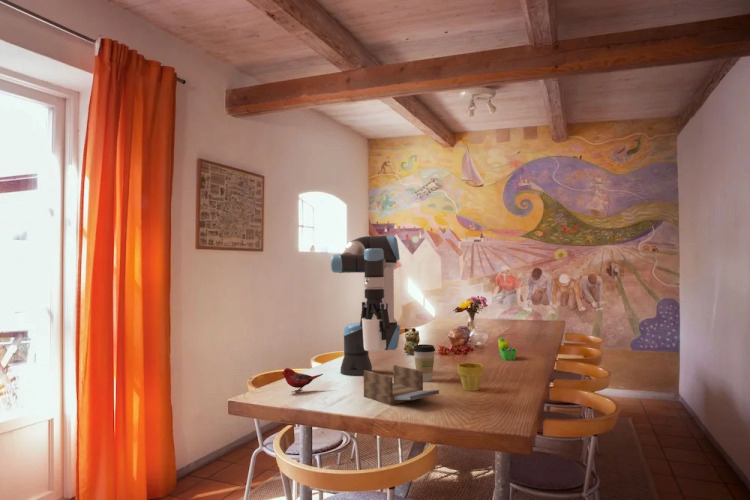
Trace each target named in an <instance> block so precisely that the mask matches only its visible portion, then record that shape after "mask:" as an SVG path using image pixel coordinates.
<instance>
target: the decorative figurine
mask: <svg viewBox="0 0 750 500" xmlns="http://www.w3.org/2000/svg"><path fill="white" fill-rule="evenodd" d="M404 338H405V340H404V342H403V346H402V347H403V348H402V349H403V350H404V351H403V352H404V354H407V356H415V355H414V351H413V349H414V346H415V345H420V341H421V339H420V331H419V330H417V329H416V328H415V327H414V328H412V329H411V330H409V328H407V327H406V328H404Z"/></svg>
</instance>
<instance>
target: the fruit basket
mask: <svg viewBox="0 0 750 500" xmlns="http://www.w3.org/2000/svg"><path fill="white" fill-rule="evenodd" d="M497 343H498V350H499V354H500V357H501V359H503V360H504V361H515V360H516V357H517V353H518V350H517V349H515V348H514V347H510V345H509V344H510V343H509V342H508V341H507V340H506V339H505V338H504V337H499V338H498V340H497Z"/></svg>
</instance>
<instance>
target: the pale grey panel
mask: <svg viewBox="0 0 750 500" xmlns="http://www.w3.org/2000/svg"><path fill="white" fill-rule="evenodd" d="M439 394H440V389H435V390H433V389H431V390H426V389H425V390H424V389H423V391H416V392H412V393H407V394H403V395H398V396H394V400H411V401H415V400H417V399H423V398H427V397H430V396H435V395H439Z"/></svg>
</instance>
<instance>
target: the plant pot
mask: <svg viewBox="0 0 750 500" xmlns="http://www.w3.org/2000/svg"><path fill="white" fill-rule="evenodd" d="M484 367H485V366H484V365H483V364H482V363H477V362H462V363H458V364H457V374H458V375H459V378H460V382H461V386H462V390H464V391H467V392H476V391H479V390H480V387H481V382H482V377H483V375H484V372H485V371H484V369H485V368H484Z"/></svg>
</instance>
